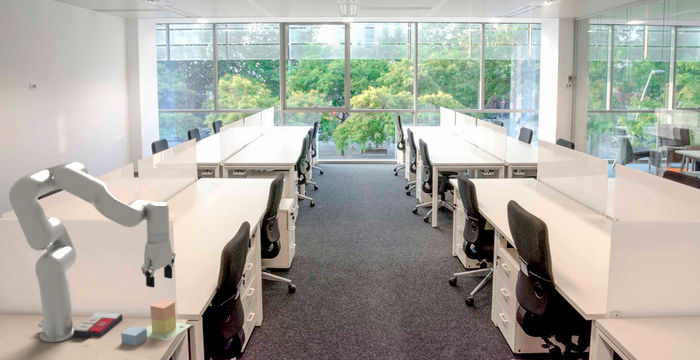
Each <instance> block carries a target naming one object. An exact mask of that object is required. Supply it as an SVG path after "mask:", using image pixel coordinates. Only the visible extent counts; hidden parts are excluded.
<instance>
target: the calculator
mask: <svg viewBox="0 0 700 360" xmlns="http://www.w3.org/2000/svg"><path fill="white" fill-rule="evenodd" d="M123 318H124V317H123V314H121V313H111V312H99V311H96V312H95V313H94V314H92V315H91V316H89V317H88V318H86V319H85V321H83V322H82V323H81V324H79V325H78V326H77V328H76V329H75V330H74V331H73V333H74V337H73V338H74V339H82V340H83V339H84V340H89V339H90V338H92V337H96V338H97V337H98V338H102V337H103V336H105V335H106V334H107V333H108V332H109V331H111V330H112V329H113V328H114V327H116V326H117V325H118V324H120V323H121V322H123Z"/></svg>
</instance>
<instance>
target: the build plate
mask: <svg viewBox="0 0 700 360" xmlns="http://www.w3.org/2000/svg"><path fill="white" fill-rule="evenodd" d="M189 327H192V324H188V323H183V322H178V321H176V328H175V329H173V330H172V331H170V332H168V333H167V334H161V333H157V332H152V324H150V325H148V326H147V327H146V329H147V338H151V339H155V340H160V341H166V342H168V341H170V340H171V339H173V338H174V337H176V336H178V335H179V334H181V333H182V332H184V331H185V330H186V329H188V328H189Z"/></svg>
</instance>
